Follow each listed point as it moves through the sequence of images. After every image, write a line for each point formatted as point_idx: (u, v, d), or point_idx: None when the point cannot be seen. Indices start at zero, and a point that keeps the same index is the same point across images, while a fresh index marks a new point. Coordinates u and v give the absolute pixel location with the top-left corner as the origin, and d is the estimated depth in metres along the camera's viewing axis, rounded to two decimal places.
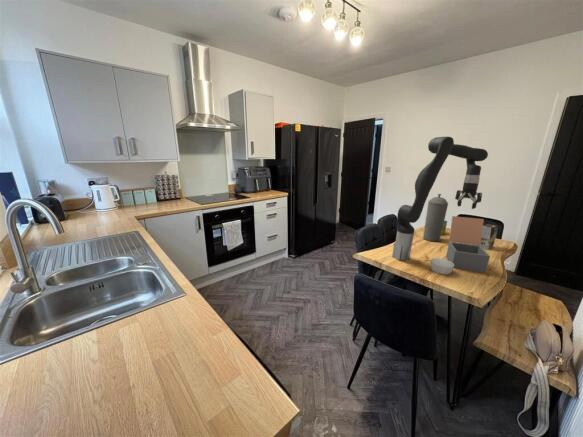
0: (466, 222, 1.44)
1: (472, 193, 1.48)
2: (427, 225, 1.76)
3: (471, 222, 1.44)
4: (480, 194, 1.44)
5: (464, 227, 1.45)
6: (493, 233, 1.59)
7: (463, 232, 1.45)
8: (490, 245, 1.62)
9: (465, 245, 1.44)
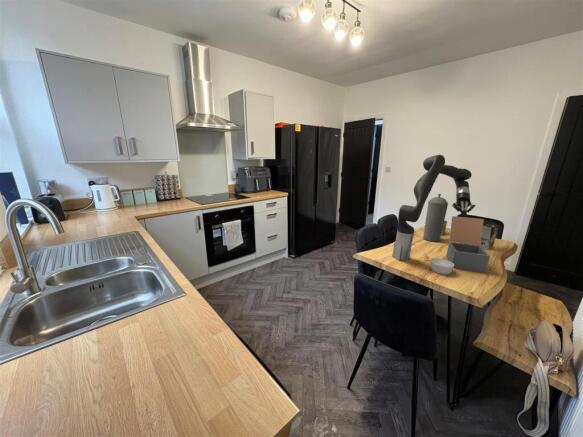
0: (466, 222, 1.44)
1: (468, 204, 1.53)
2: (427, 225, 1.76)
3: (471, 222, 1.44)
4: None
5: (464, 227, 1.45)
6: (493, 233, 1.59)
7: (463, 232, 1.45)
8: (490, 245, 1.62)
9: (465, 245, 1.44)
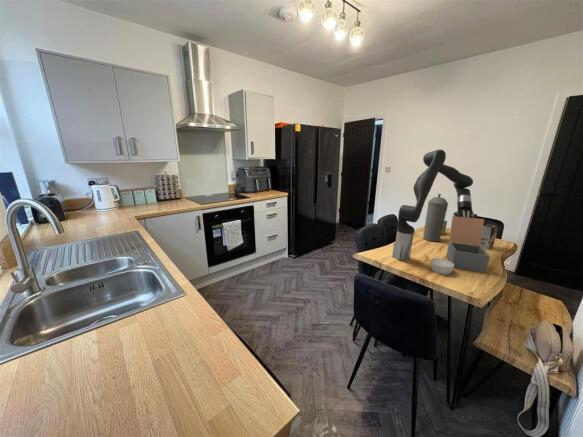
0: (466, 222, 1.44)
1: (470, 213, 1.48)
2: (427, 225, 1.76)
3: (471, 222, 1.43)
4: None
5: (464, 227, 1.45)
6: (493, 233, 1.59)
7: (463, 232, 1.45)
8: (490, 245, 1.62)
9: (465, 245, 1.44)
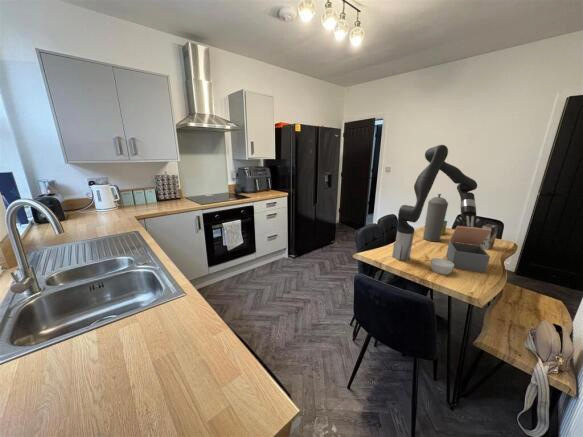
0: (471, 231, 1.35)
1: (474, 218, 1.40)
2: (427, 225, 1.76)
3: (476, 231, 1.34)
4: (480, 222, 1.39)
5: (467, 234, 1.38)
6: (493, 233, 1.59)
7: (465, 237, 1.40)
8: (490, 245, 1.62)
9: (465, 245, 1.44)
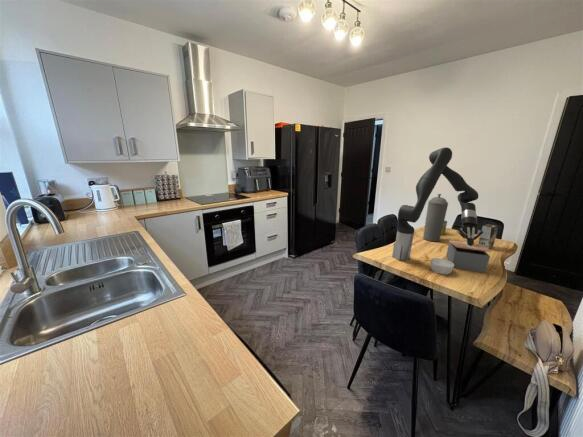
0: None
1: (476, 230, 1.37)
2: (427, 225, 1.76)
3: None
4: (481, 233, 1.36)
5: None
6: (493, 233, 1.59)
7: None
8: (490, 245, 1.62)
9: None
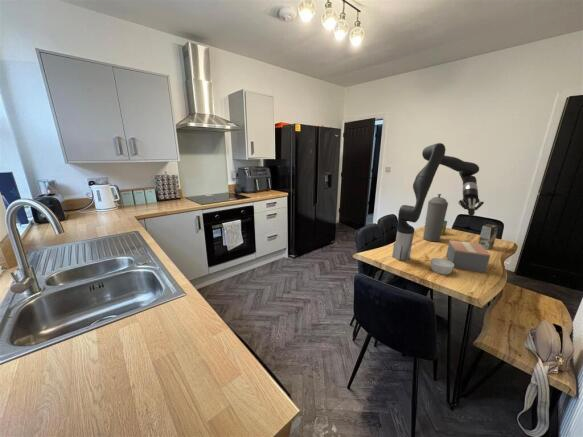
0: None
1: (476, 201, 1.42)
2: (427, 225, 1.76)
3: None
4: (482, 204, 1.41)
5: None
6: (493, 233, 1.59)
7: None
8: (490, 245, 1.62)
9: None
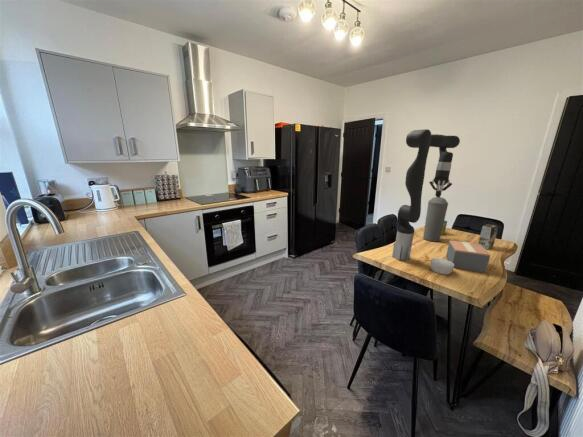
0: None
1: (445, 182, 1.48)
2: (427, 225, 1.76)
3: None
4: (450, 185, 1.48)
5: None
6: (493, 233, 1.59)
7: None
8: (490, 245, 1.62)
9: None
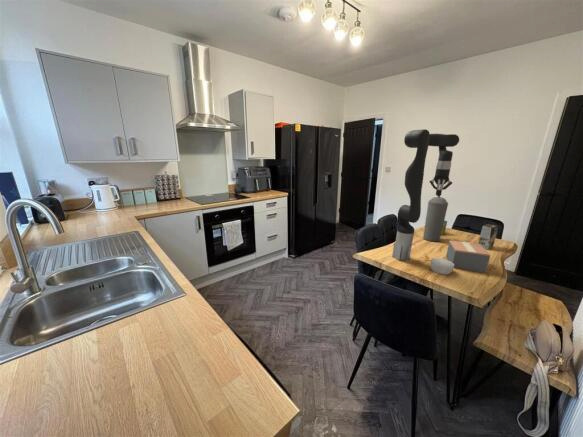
0: None
1: (446, 181, 1.47)
2: (427, 225, 1.76)
3: None
4: (451, 183, 1.47)
5: None
6: (493, 233, 1.59)
7: None
8: (490, 245, 1.62)
9: None
